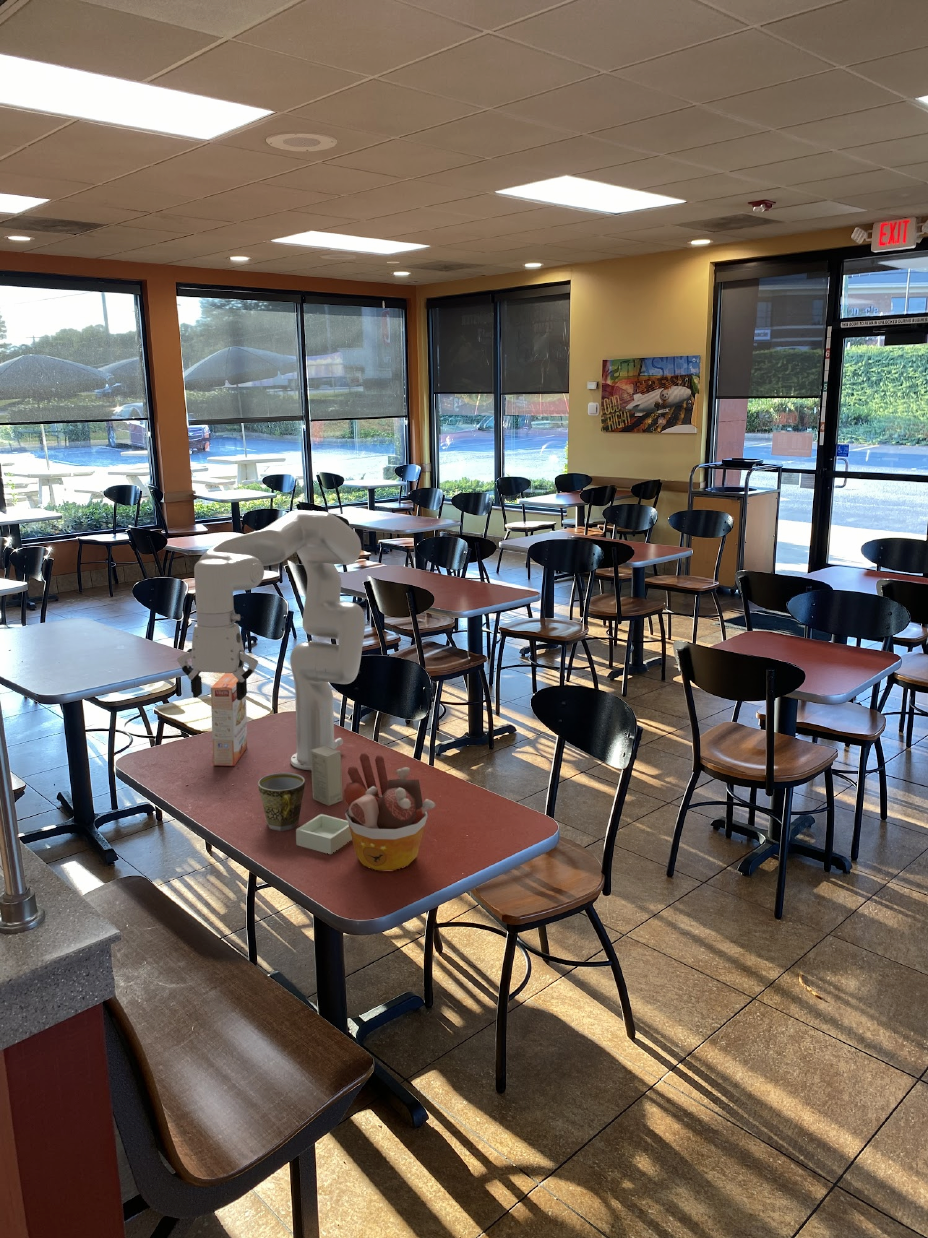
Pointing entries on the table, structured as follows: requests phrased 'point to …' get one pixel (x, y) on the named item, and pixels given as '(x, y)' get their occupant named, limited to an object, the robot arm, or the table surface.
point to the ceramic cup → (282, 799)
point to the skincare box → (326, 775)
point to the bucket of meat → (385, 816)
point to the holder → (324, 834)
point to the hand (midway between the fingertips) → (219, 697)
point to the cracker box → (228, 722)
